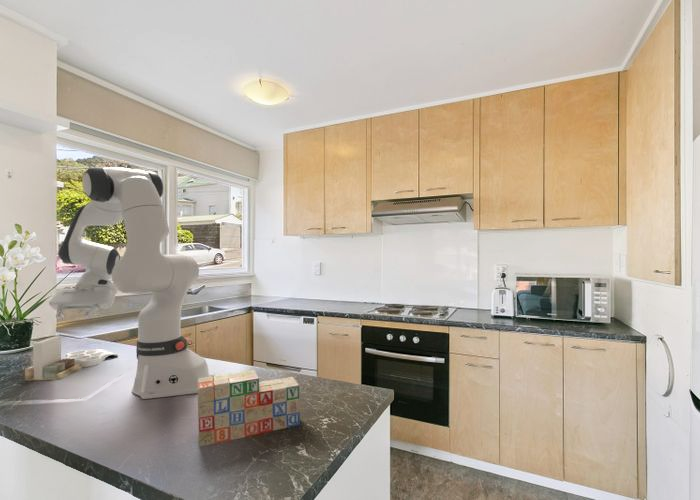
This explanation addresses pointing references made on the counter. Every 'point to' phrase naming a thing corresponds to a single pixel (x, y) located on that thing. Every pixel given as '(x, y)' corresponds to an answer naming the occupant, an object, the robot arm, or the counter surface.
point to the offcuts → (57, 368)
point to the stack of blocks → (245, 406)
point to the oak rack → (30, 376)
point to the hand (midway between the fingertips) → (73, 317)
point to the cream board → (45, 354)
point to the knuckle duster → (89, 357)
